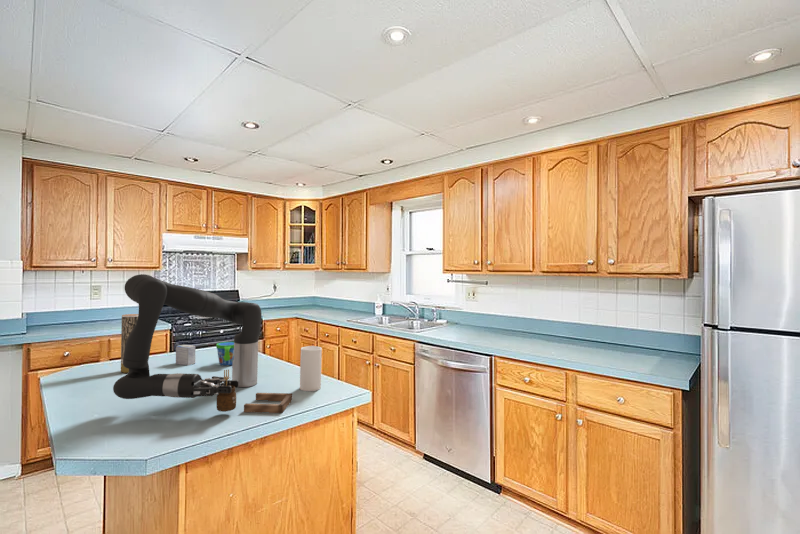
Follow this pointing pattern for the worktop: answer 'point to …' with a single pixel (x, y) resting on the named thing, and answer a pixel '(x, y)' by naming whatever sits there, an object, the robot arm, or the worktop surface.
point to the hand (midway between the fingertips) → (234, 386)
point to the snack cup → (225, 353)
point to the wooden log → (126, 334)
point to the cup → (310, 368)
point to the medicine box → (185, 354)
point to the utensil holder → (226, 397)
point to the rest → (270, 408)
